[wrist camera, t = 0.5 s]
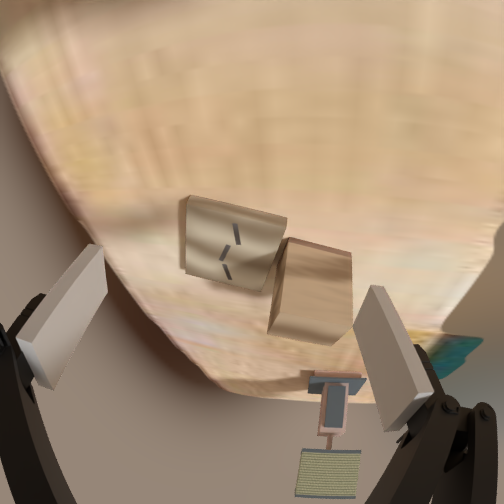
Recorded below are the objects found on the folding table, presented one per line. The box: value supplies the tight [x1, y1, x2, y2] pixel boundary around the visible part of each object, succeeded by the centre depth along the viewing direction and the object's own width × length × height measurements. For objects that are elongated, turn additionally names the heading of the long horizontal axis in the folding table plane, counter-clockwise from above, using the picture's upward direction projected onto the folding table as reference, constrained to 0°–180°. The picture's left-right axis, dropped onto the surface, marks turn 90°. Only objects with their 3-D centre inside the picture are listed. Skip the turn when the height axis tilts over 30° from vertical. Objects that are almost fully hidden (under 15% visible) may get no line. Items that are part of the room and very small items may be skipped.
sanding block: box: [267, 237, 353, 346], centre depth 36 cm, size 6×8×10 cm
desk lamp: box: [295, 370, 367, 499], centre depth 67 cm, size 18×14×33 cm
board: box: [186, 195, 287, 292], centre depth 39 cm, size 14×11×2 cm
